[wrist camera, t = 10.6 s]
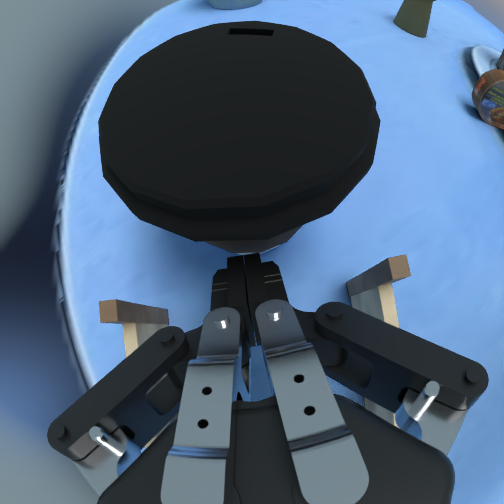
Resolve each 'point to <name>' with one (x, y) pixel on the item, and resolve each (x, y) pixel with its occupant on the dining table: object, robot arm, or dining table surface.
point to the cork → (414, 16)
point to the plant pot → (501, 62)
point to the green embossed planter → (233, 4)
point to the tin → (490, 97)
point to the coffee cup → (238, 133)
